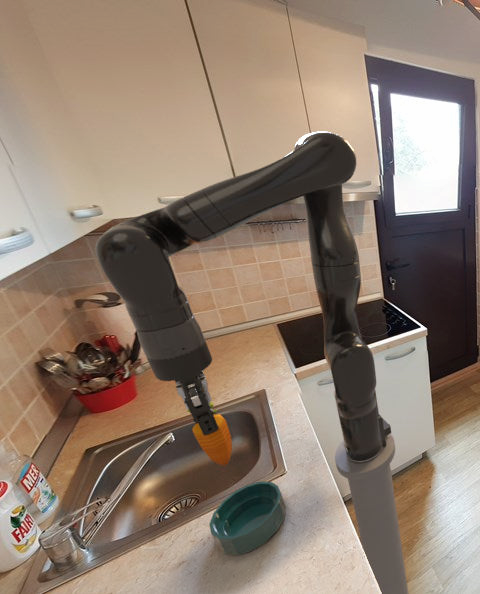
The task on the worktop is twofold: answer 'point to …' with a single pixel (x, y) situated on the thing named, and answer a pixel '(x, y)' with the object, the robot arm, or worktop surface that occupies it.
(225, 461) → the carrot
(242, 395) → the worktop surface
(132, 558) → the worktop surface
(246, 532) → the bowl
